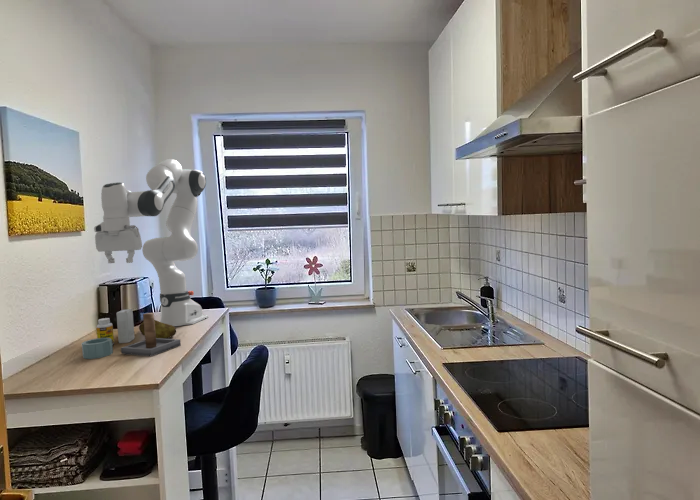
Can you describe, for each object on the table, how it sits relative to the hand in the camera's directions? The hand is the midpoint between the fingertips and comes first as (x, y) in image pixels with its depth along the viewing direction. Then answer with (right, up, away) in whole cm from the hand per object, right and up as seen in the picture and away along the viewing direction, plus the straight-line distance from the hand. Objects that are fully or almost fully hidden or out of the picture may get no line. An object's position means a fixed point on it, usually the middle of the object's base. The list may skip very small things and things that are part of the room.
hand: (120, 263), depth 185 cm
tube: (-3, -32, -11) cm, 34 cm away
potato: (+11, -30, +8) cm, 33 cm away
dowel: (+15, -30, -8) cm, 34 cm away
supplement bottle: (-7, -32, +3) cm, 32 cm away
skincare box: (-1, -31, +8) cm, 32 cm away
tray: (+15, -31, -8) cm, 35 cm away
